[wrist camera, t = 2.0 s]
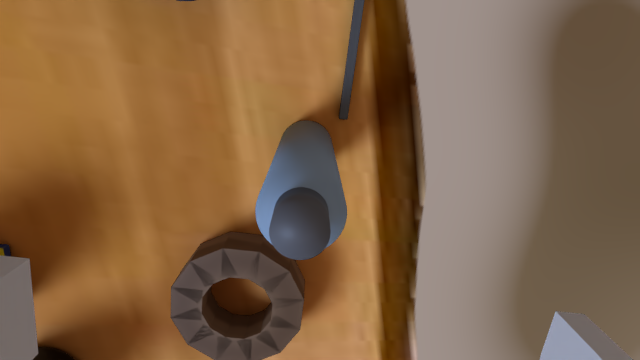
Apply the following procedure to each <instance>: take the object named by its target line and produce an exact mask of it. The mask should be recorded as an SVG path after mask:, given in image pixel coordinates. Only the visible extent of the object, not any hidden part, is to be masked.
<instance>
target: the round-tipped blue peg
mask: <svg viewBox="0 0 640 360" xmlns="http://www.w3.org/2000/svg"><path fill="white" fill-rule="evenodd" d="M346 218H347V206H346V201H345V197H344V193H343V188H342V184H341V180H340V175H339V171H338V166H337V162H336V158H335V153H334V149H333V145H332V140H331V137H330V135H329V133H328V131H327V130H326V129H325V128H324V127H323V126H322V125H320V124H319V123H316V122H314V121H309V120H304V121H299V122H296V123H294V124H292V125H291V126H289V127H288V128H287V129H286V131H285V132H284V134H283V136H282V138H281V141H280V143H279V146H278V148H277V151H276V153H275V156H274V158H273V161H272V163H271V166H270V168H269V171H268V174H267V176H266V179H265V181H264V184H263V186H262V189H261V191H260V194H259V196H258V199H257V203H256V220H257V224H258V227H259V229H260V231H261V233H262V234H263V236H264V237H265V238H266V239H267V240H268V241H269V242H270V243H271V244H272V245H273V246H274V248H275V249H276V250H277V251H278V252H279V253H280V254H282V255H284V256H285V257H288V258H290V259H295V260H305V259H310V258H313V257H315V256H317V255H318V254H320V253H321V252H322V251H323V250H324V249H325V248H326V247H328V246H330V245H331V244H332V243H333V242H334V241H335V240H336V239H337V238H338V237H339V235H340V234H341V232H342V230H343V228H344V226H345V223H346Z"/></svg>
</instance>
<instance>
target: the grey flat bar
mask: <svg viewBox="0 0 640 360" xmlns="http://www.w3.org/2000/svg"><path fill="white" fill-rule="evenodd" d="M363 6H364V0H355V2H354V9H353V17H352V24H351V32H350V39H349V46H348V54H347V61H346V68H345V76H344V83H343V91H342V98H341V105H340V113H339V119H348V111H349V104H350V97H351V90H352V83H353V76H354V69H355V62H356V55H357V48H358V41H359V34H360V27H361V20H362V13H363Z"/></svg>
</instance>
